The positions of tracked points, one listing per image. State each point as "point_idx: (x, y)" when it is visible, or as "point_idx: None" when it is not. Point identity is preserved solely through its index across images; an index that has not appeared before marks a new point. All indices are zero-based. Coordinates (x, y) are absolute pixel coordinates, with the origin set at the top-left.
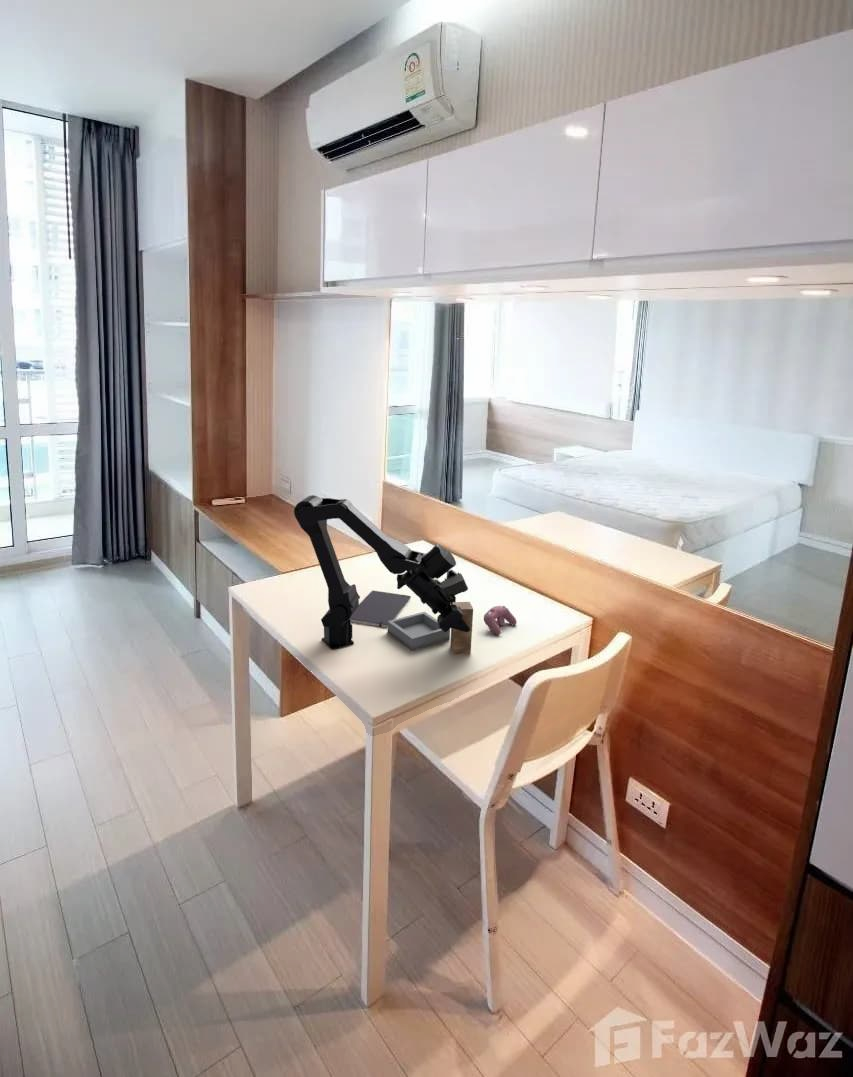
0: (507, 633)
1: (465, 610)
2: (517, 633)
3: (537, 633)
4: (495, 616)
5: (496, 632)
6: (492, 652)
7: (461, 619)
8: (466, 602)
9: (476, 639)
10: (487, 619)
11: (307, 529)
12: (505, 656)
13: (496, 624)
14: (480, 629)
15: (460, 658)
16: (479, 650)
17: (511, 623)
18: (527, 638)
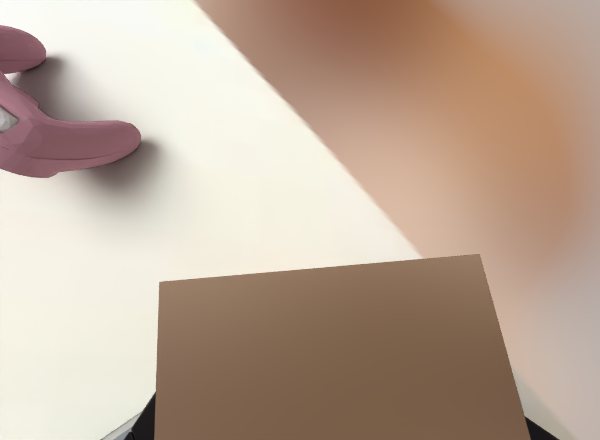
0: (123, 104)
1: (499, 394)
2: (130, 68)
3: (140, 5)
4: (28, 100)
5: (132, 144)
6: (299, 196)
7: (537, 431)
8: (191, 358)
9: (170, 247)
10: (43, 154)
11: None
12: (330, 154)
13: (95, 122)
14: (56, 212)
15: None
16: (282, 248)
17: (31, 64)
18: (181, 47)
